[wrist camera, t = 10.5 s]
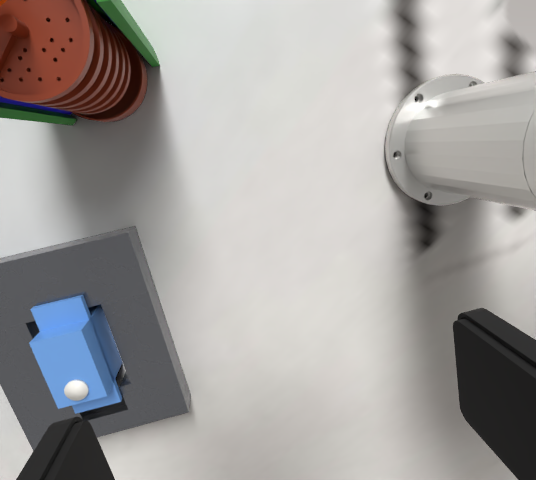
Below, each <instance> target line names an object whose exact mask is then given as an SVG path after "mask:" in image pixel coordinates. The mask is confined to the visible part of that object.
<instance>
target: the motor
mask: <svg viewBox="0 0 536 480" xmlns="http://www.w3.org/2000/svg"><path fill="white" fill-rule="evenodd" d="M105 20H106V21H110V22H112V23H114V24H115V26H116V27H117V28H118V29H119V30H120V31H121V32H120V31H119V30H118V29H117V28H115V27H114V26H112V25H110V24H108V23H107V22H106V21H105ZM128 39H129V40H130V41H129V40H128ZM135 47H136V48H135ZM138 51H139V52H140V53H141V54H142V56H143V57H144V58H145V59H146V60H147V61H148V62H149V64H150V65H151V66H152V67H155V66H160V65H159V61H158V58H157V56H156V53H155V51H154V49H153V47H152V46H151V44H150V43H149V41H148V40H147V38H146V37H145V35H144V34H143V32H142V31H141V29H140V28H139V26H138V25H137V23H136V22H135V20H134V19H133V17H132V16H131V15H130V13H129V12H128V10H127V9H126V7H125V6H124V4H123V3H122V1H121V0H0V118H9V119H19V120H28V121H37V122H46V123H55V124H64V125H74V123H75V122H76V121H77V119H76V118H74V117H73V116H72V115H71V114H72V113H73V114H75V115H77V116H80V117H82V118H85V119H89V120H95V121H101V122H114V121H118V120H122V119H124V118H126V117H128V116H130V115H131V114H132V113H134V112H135V111H136V110H137V109H138V107H139V106H140V105H141V103H142V101H143V99H144V97H145V94H146V90H147V72H146V67H145V64H144V61H143V59H142V57H141V55H140V54H139V52H138Z"/></svg>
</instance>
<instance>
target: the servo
mask: <svg viewBox="0 0 536 480" xmlns="http://www.w3.org/2000/svg"><path fill="white" fill-rule="evenodd" d="M30 310H31V312H32V314H33V317H34V319H35V321H36V324H37V326H38V328H39V331H40V332H39V333H38V334H37V335H36V336H35V337H34V338H33V339H32V340H31V341H30V342H29V344H30V347H31V349H32V351H33V353H34V356H35V358H36V360H37V362H38V365H39V367H40V369H41V371H42V374H43V376H44V378H45V380H46V383H47V385H48V387H49V389H50V392H51V394H52V396H53V398H54V401H55V403H56V405H57V407H58V409H60V408H64V407H68V406H71V405H72V407H73V409H74V412H75V414H76V413H80V412H84V411H88V410H92V409H95V408H99V407H103V406H107V405H111V404H115V403H118V402H121V400H122V396H121V393H120V390H119V388H118V385H117V382H116V379H115V378H116V376H117V374H118V371H119V369H120V367H121V365H122V360H121V357H120V355H119V352H118V349H117V346H116V344H115V341H114V338H113V336H112V333H111V330H110V327H109V325H108V322H107V319H106V317H105V314H104V311H103V309H102V306H101V304H100V305H96V306H92V307H88V306H87V304H86V301H85V299H84V296H83V295H80V296H76V297H71V298H67V299H63V300H59V301H55V302H51V303H46V304H42V305H38V306H34V307H33V308H31V309H30Z"/></svg>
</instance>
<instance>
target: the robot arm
mask: <svg viewBox="0 0 536 480" xmlns="http://www.w3.org/2000/svg"><path fill="white" fill-rule="evenodd" d="M415 97H416V101H415ZM385 152H386V161H387V165H388V169H389V172H390V174H391V176H392V178H393V180H394V182H395V183H396V184H397V185H398V187H399V188H400V189H401V190H402V191H403V192H404V193H405V194H407V195H408V196H409V197H411V198H413V199H415V200H417V201H419V202H423V203H426V204H431V205H437V206H440V205H451V204H455V203H459V202H461V201H464V200H466V199H468V198H470V197H472V198H477V199H482V200H486V201H491V202H496V203H501V204H506V205H511V206H516V207H520V208H525V209H530V210H535V211H536V71H534V72H530V73H526V74H521V75H517V76H513V77H509V78H505V79H500V80H496V81H492V82H488V83H484V82H482V81H481V80H479V79H477V78H474V77H472V76H469V75H462V74H451V75H443V76H440V77H437V78H433V79H431V80H429V81H427V82H424V83H422V84H421V85H419V86H418V87H417V88H415V89H414V90H412V91H411V92H410V93H409V94H408V95H407V96H406V97H405V98H404V99H403V100H402V102H401V103H400V105H399V106H398V108H397V109H396V111H395V113H394V115H393V117H392V119H391V121H390V124H389V127H388V131H387V134H386V144H385ZM393 153H395V157H393ZM424 195H425V197H424ZM453 332H454V344H455V355H456V367H457V378H458V390H459V401H460V409H461V412H462V414H463V416H464V418H465V419H466V421H467V422H468V423H469V424H470V426H471V427H472V428H473V429H474V430H475V431H476V432H477V433H478V435H479V436H480V437H481V438H482V439H483V440H484V441H485V442H486V444H487V445H488V446H489V447H490V448H491V449H492V450H493V451H494V453H495V454H496V455H497V456H498V457H499V458H500V459H501V460H502V462H503V463H504V464H505V465H506V466H507V467H508V468H509V469H510V471H511V472H512V473H513V474H514V475H515V476H516V477H517V479H518V480H536V340H535V339H533V338H532V337H530V336H528V335H527V334H525V333H523V332H522V331H520V330H519V329H517V328H515V327H514V326H512V325H511V324H509V323H507V322H506V321H504V320H503V319H501V318H499V317H498V316H496V315H494V314H493V313H491V312H490V311H488V310H486V309H484V308H479V309H475V310H472V311H468V312H464V313H461V314H459V316H458V320H457V321H455V322H454V323H453ZM16 480H115V479H114V476H113V474H112V472H111V469H110V467H109V465H108V463H107V460H106V458H105V456H104V453H103V451H102V449H101V446H100V444H99V442H98V440H97V437H96V435H95V433H94V430H93V428H92V426H91V424H90V422H89V421H83V420H82V419H81V418H80V417H73V418H69V419H65V420H62V421H58V422H54V423H52V424H51V425H50V426H49V427H48V429H47V430H46V432H45V434H44V435H43V437H42V439H41V440H40V442H39V443H38V445H37V447H36V448H35V450H34V452H33V453H32V455H31V456H30V458H29V460H28V461H27V463H26V465H25V466H24V468H23V469H22V471H21V473H20V474H19V476H18V478H17V479H16Z"/></svg>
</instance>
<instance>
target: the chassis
mask: <svg viewBox="0 0 536 480" xmlns="http://www.w3.org/2000/svg"><path fill="white" fill-rule="evenodd" d="M80 295H83V296H84V299H85V301H86V304H87V306H88V307H92V306H96V305H100V304H101V306H102V308H103V311H104V314H105V316H106V319H107V321H108V324H109V327H110V329H111V332H112V335H113V337H114V340H115V342H116V345H117V348H118V350H119V353H120V356H121V358H122V361H123V364H124V366H125V369H126V373H125V375H124V377H123V380H122V382H121V384H120V390H121V392H122V395H123V396H122V400H121V402H118V403H115V404H111V405H107V406H103V407H99V408H95V409H92V410H88V411H84V412H80V413H76V414H75V412H74V409H73V407H72V405H71V406H68V407H64V408H60V409H58V407H57V405H56V403H55V401H54V398H53V396H52V394H51V392H50V389H49V387H48V385H47V383H46V380H45V378H44V376H43V374H42V371H41V369H40V367H39V365H38V362H37V360H36V358H35V356H34V353H33V351H32V349H31V347H30V344H29V342H30V341H31V340H32V339H33V338H34V337H35V336H36V335H37V334H38V333H39V332H40V331H39V328H38V326H37V324H36V321H35V319H34V317H33V314H32V312H31V310H30V309H31V308H33V307H34V306H38V305H42V304H46V303H51V302H55V301H59V300H63V299H67V298H71V297H76V296H80ZM0 385H1V387H2V389H3V391H4V393H5V395H6V397H7V399H8V401H9V403H10V405H11V407H12V409H13V411H14V413H15V415H16V417H17V419H18V421H19V423H20V425H21V427H22V429H23V431H24V433H25V435H26V437H27V439H28V441H29V443H30V445H31V447H32V449H33V451H34V450H35V448H36V447H37V445H38V443H39V442H40V440H41V439H42V437H43V435H44V434H45V432H46V430H47V429H48V427H49V426H50V425H51V424H52V423H54V422H58V421H62V420H65V419H69V418H73V417H80V418H81V419H82V420H83V421H89V422H90V424H91V426H92V428H93V430H94V433H95V435H96V437H100V436H103V435H107V434H111V433H114V432H118V431H122V430H125V429H129V428H133V427H136V426H140V425H144V424H147V423H151V422H154V421H158V420H162V419H165V418H169V417H173V416H176V415H180V414H184V413H187V412H189V406H190V398H191V394H190V391H189V388H188V385H187V382H186V379H185V376H184V373H183V370H182V367H181V364H180V361H179V358H178V355H177V352H176V349H175V346H174V343H173V340H172V337H171V334H170V330H169V327H168V324H167V321H166V318H165V315H164V312H163V309H162V306H161V303H160V300H159V297H158V294H157V291H156V288H155V285H154V282H153V279H152V276H151V273H150V270H149V267H148V264H147V261H146V258H145V255H144V252H143V249H142V246H141V243H140V240H139V237H138V234H137V231H136V227H135V226H134V227H129V228H125V229H121V230H117V231H113V232H108V233H104V234H100V235H96V236H92V237H87V238H83V239H79V240H75V241H71V242H66V243H62V244H58V245H54V246H50V247H46V248H41V249H37V250H33V251H29V252H25V253H20V254H16V255H12V256H8V257H4V258H0Z"/></svg>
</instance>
